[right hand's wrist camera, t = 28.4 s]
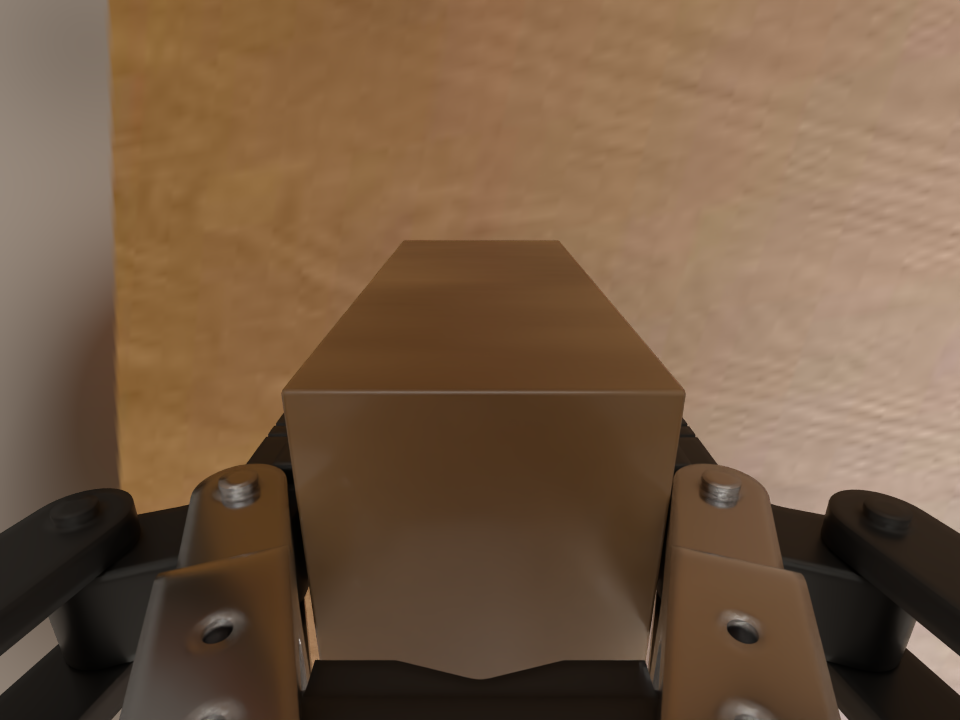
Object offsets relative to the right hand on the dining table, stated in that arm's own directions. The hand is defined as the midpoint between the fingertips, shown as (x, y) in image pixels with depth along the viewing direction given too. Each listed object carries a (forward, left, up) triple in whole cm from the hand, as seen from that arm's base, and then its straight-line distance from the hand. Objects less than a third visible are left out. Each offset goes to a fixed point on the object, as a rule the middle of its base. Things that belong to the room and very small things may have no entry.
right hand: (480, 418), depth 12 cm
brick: (0, 0, -7) cm, 7 cm away
